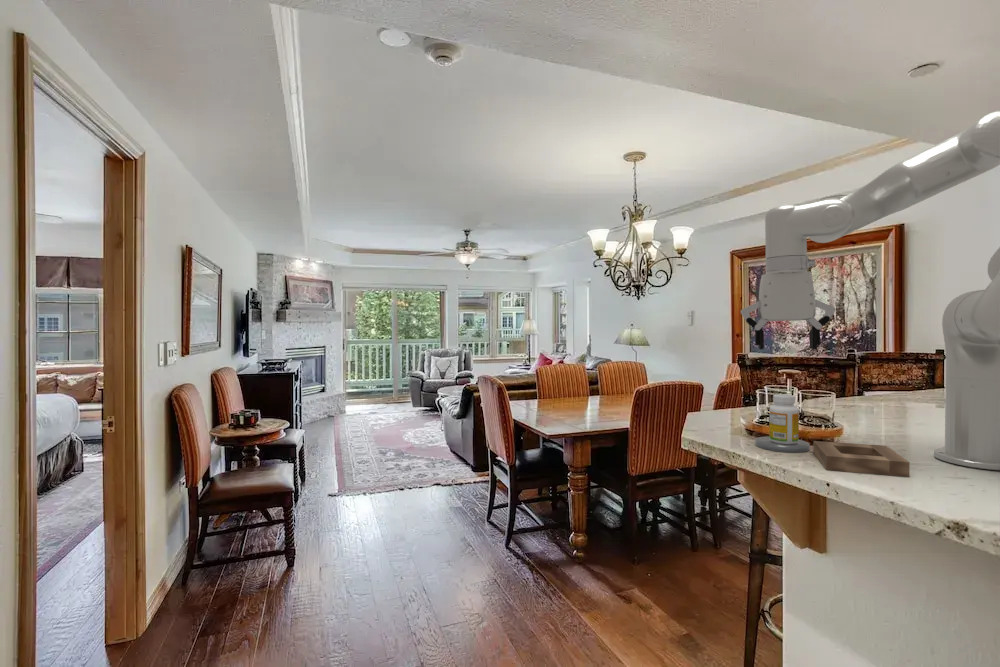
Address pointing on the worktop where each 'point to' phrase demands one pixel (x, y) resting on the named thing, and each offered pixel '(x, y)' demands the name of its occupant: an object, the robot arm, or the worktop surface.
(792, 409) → the supplement bottle
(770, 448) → the coaster
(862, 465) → the frame
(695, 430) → the worktop surface
